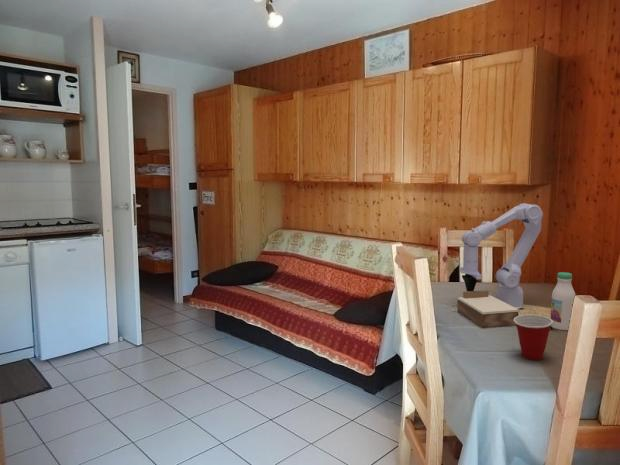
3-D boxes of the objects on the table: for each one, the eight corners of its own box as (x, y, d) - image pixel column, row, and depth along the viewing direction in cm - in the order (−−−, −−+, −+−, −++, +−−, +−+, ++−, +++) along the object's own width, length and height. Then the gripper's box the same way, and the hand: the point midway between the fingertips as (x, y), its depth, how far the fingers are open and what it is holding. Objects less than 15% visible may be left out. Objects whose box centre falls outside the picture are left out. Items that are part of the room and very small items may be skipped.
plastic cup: (505, 350, 143) (506, 314, 141) (537, 348, 144) (539, 312, 142) (524, 365, 132) (525, 326, 131) (559, 362, 133) (561, 323, 131)
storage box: (489, 309, 185) (489, 297, 184) (518, 325, 165) (518, 312, 164) (457, 311, 183) (457, 299, 182) (482, 328, 163) (482, 315, 163)
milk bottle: (572, 324, 164) (574, 271, 162) (576, 331, 157) (579, 276, 154) (548, 323, 167) (550, 270, 164) (552, 330, 159) (554, 275, 157)
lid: (489, 296, 184) (490, 289, 184) (518, 311, 164) (518, 303, 164) (457, 299, 182) (457, 291, 182) (482, 314, 163) (482, 305, 162)
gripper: (453, 257, 191) (453, 288, 193) (470, 264, 177) (469, 297, 178) (469, 256, 192) (468, 287, 194) (486, 263, 177) (486, 296, 179)
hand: (470, 292), depth 186 cm, fingers closed
